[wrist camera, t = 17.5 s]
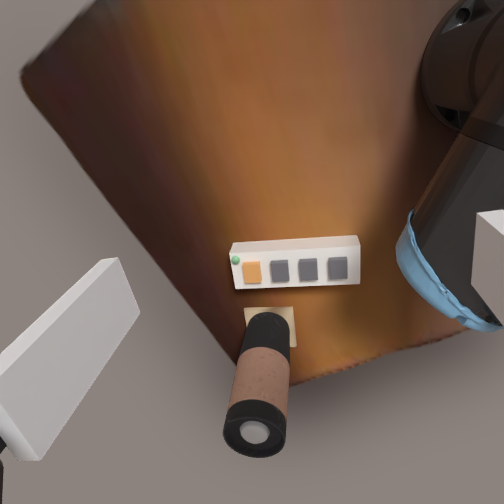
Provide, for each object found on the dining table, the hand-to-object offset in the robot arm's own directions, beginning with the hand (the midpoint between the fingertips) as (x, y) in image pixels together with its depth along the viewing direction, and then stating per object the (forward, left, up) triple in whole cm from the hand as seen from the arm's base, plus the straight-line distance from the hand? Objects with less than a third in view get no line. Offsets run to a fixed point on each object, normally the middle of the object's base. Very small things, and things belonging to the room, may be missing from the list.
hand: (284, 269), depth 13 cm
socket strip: (+2, +18, -36) cm, 40 cm away
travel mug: (+7, +31, -36) cm, 48 cm away
